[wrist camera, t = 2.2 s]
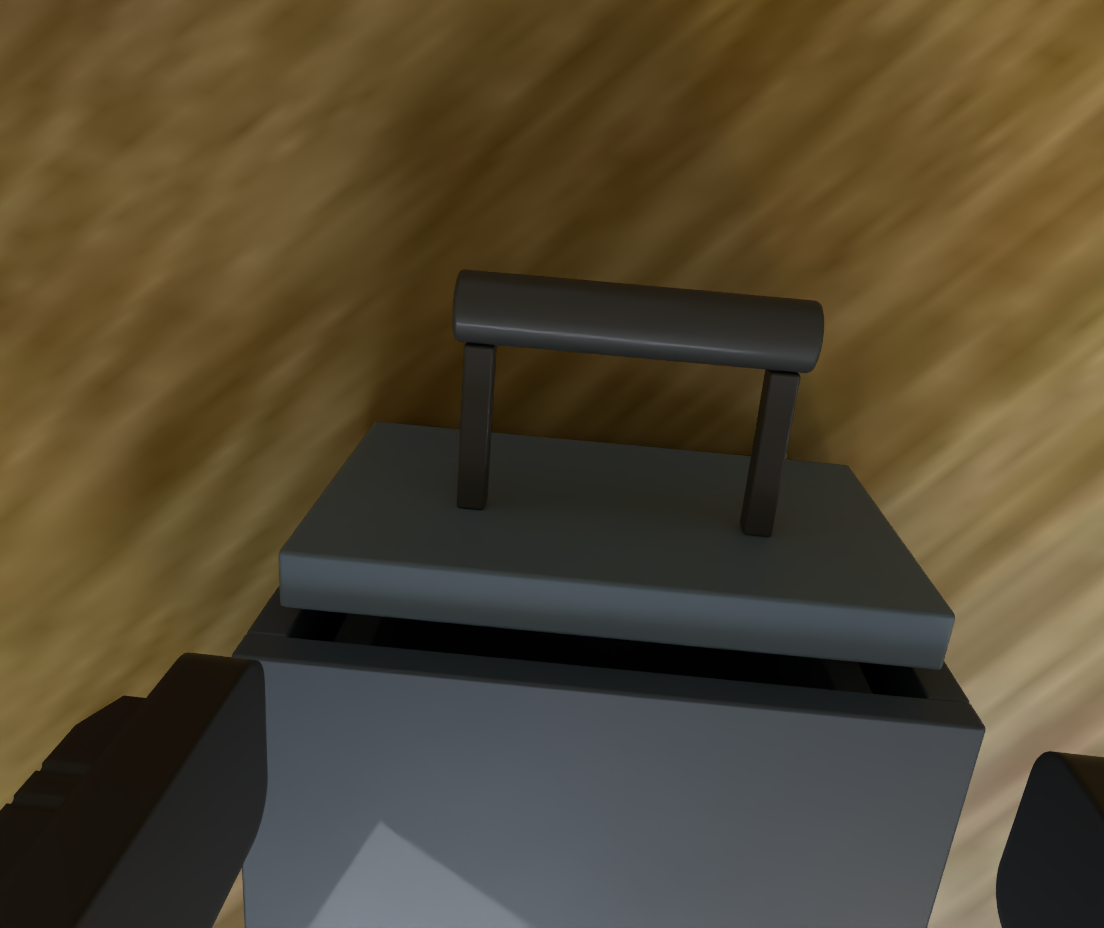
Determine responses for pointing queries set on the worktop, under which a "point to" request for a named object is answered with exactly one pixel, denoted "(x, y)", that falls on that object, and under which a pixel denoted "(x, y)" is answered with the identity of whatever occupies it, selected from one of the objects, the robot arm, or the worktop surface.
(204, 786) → the robot arm
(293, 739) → the cabinet
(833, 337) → the worktop surface
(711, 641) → the drawer
